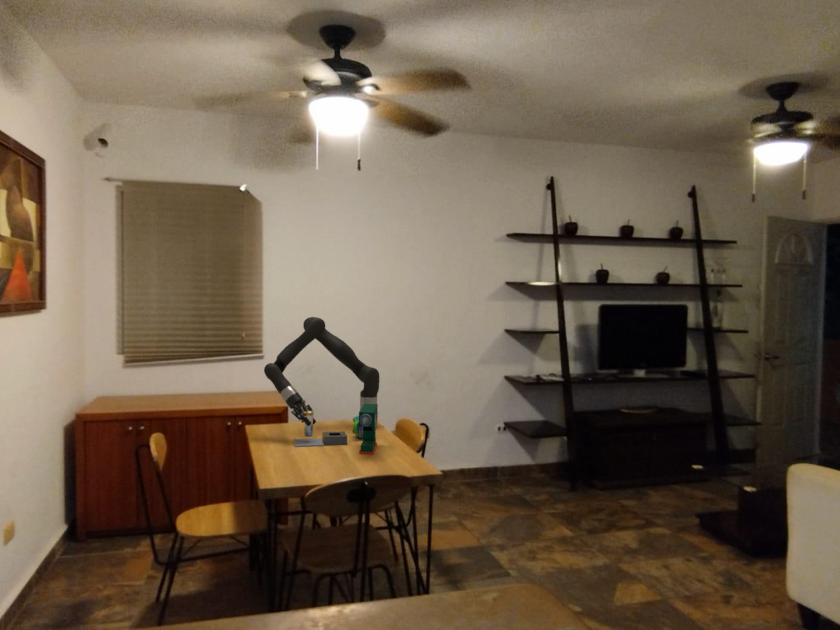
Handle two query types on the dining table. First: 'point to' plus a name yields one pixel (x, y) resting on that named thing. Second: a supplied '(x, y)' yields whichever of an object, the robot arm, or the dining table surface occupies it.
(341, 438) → the socket block
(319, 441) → the mat
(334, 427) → the dining table surface
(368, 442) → the power tool
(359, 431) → the snack cup
